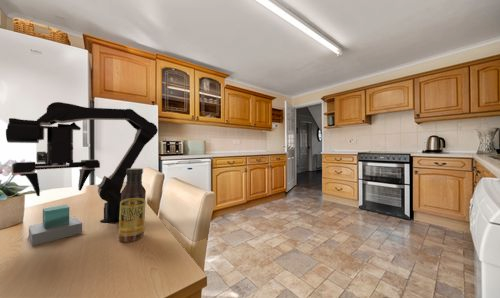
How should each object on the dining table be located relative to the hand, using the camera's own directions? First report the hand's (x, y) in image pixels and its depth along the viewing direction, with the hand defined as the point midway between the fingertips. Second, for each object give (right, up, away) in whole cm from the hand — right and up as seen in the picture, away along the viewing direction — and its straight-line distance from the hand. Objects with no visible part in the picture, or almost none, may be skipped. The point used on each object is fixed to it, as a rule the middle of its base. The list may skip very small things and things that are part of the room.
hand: (60, 193), depth 58 cm
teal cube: (+1, -9, -2) cm, 9 cm away
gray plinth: (+1, -12, -2) cm, 12 cm away
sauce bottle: (+26, -12, -5) cm, 29 cm away
